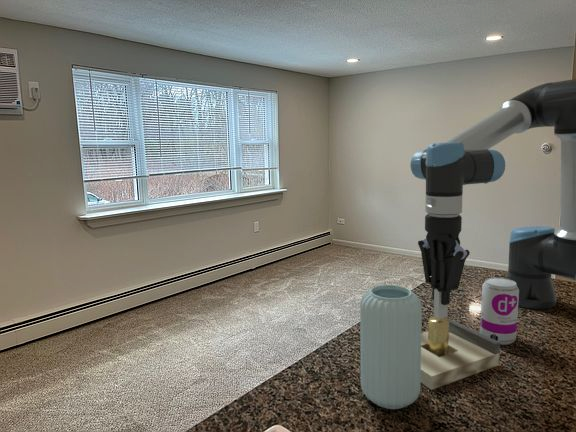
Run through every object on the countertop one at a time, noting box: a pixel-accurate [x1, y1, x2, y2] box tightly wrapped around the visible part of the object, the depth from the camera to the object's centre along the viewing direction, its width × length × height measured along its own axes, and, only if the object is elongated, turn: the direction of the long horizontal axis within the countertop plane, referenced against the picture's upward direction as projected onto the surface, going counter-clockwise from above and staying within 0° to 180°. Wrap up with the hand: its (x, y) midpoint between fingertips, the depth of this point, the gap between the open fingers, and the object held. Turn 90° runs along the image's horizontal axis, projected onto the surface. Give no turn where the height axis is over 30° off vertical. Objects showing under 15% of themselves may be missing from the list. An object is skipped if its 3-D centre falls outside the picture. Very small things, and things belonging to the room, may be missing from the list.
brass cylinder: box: [427, 315, 449, 357], centre depth 96 cm, size 4×4×10 cm
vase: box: [359, 284, 423, 410], centre depth 82 cm, size 12×12×22 cm
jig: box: [420, 316, 501, 391], centre depth 97 cm, size 20×16×6 cm
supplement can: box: [479, 277, 519, 346], centre depth 106 cm, size 8×8×15 cm
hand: (440, 316), depth 95 cm, fingers closed
